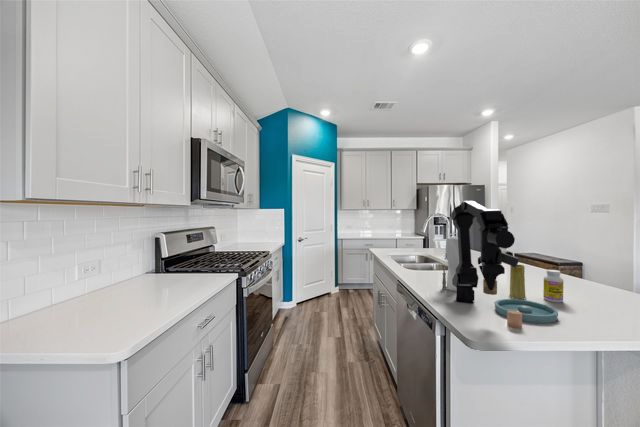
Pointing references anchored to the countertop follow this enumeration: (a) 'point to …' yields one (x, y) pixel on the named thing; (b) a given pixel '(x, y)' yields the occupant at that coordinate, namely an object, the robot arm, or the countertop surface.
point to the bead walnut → (486, 289)
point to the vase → (517, 282)
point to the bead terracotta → (514, 319)
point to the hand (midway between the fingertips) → (490, 288)
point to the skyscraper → (451, 262)
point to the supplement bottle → (553, 286)
